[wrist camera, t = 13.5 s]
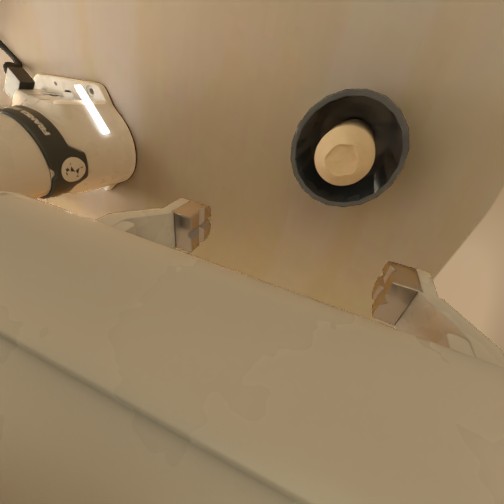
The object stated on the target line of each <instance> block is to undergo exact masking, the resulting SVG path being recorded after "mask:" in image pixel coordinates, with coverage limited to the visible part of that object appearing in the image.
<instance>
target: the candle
mask: <svg viewBox="0 0 504 504" xmlns="http://www.w3.org/2000/svg"><path fill="white" fill-rule="evenodd" d="M374 159H375V137H374V133H373V130H372V128H371V127H370V126H369V125H368V124H367V123H366V122H364V121H362V120H359V119H348V120H345V121H342V122H340V123H339V124H337V125H336V126H335V127H334V128H332V129H331V130H330V131H329V132H328V133H327V134H326V135H324V137H323V138H322V139H321V140H320V142H319V144H318V145H317V148H316V151H315V157H314V161H315V166H316V169H317V172H318V173H319V175H320V176H321V177H322V178H323V179H324V180H325V181H327V182H328V183H330V184H333V185H338V186H345V185H350V184H353V183H356V182H357V181H359V180H361V179H362V178H363V177H364V176H365V175H366V174H367V173H368V172H369V171H370V169H371V167H372V165H373V163H374Z"/></svg>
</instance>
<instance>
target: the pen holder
mask: <svg viewBox="0 0 504 504" xmlns="http://www.w3.org/2000/svg"><path fill="white" fill-rule="evenodd" d="M348 119H359V120H362V121H364V122H366V123H367V124H368V125H369V126H370V127H371V128H372V130H373V133H374V137H375V159H374V163H373V165H372V167H371V169H370V171H369V172H368V173H367V174H366V175H365V176H364V177H363V178H362V179H361V180H359V181H357V182H356V183H353V184H350V185H345V186H338V185H333V184H330V183H328V182H327V181H325V180H324V179H323V178H322V177H321V176H320V175H319V173H318V172H317V169H316V166H315V161H314V157H315V151H316V148H317V145H318V144H319V142H320V140H321V139H322V138H323V137H324V135H326V134H327V133H328V132H329V131H330V130H331V129H332V128H334V127H335V126H336V125H337V124H339V123H340V122H342V121H345V120H348ZM408 152H409V129H408V126H407V123H406V121H405V119H404V116H403V114H402V112H401V110H400V109H399V108H398V107H397V106H396V105H395V104H394V103H393V102H392V101H391V100H390V99H389V98H388V97H387V96H385V95H382V94H380V93H377V92H374V91H372V90H369V89H345V90H342V91H340V92H337V93H334V94H331V95H328V96H326V97H325V98H324V99H322V100H321V101H320V102H318V103H317V104H316V105H314V106H313V107H312V108H311V109H309V111H308V112H307V114H306V115H305V116H304V118H303V119H302V120H301V122H300V123H299V125H298V127H297V129H296V132H295V135H294V137H293V140H292V147H291V163H292V168H293V172H294V176H295V177H296V179H297V181H298V182H299V184H300V186H301V188H302V189H303V190H304V191H305V192H307V193H308V194H309V195H310V196H311V197H312V198H313V199H315V200H317V201H320V202H322V203H324V204H326V205H331V206H338V207H348V206H354V205H360V204H363V203H365V202H367V201H370V200H372V199H374V198H376V197H378V196H379V195H380V194H381V193H383V192H384V191H385V190H386V189H388V188H389V187H390V186H391V185H392V184H393V183H394V181H395V180H396V178H397V177H398V175H399V174H400V172H401V171H402V169H403V168H404V165H405V161H406V158H407V155H408Z"/></svg>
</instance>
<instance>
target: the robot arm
mask: <svg viewBox="0 0 504 504" xmlns="http://www.w3.org/2000/svg"><path fill="white" fill-rule="evenodd" d="M0 48H1V49H2V50H3V51H5V52H6V53H7V54H8V55H9V56H10V57H11V58H12V60H13V61H14V63H12V62H5V63H4V65H3V68H4V71H5V73H6V79H5V85H4V91H5V92H6V93H7V95H8V96H9V97H10V98H11V99H12V100H13V101H12V106H6V107H2V108H1V109H0V504H504V353H503V351H502V350H501V349H500V348H499V347H498V346H497V345H495V344H494V343H493V342H492V341H491V340H490V339H488V338H487V337H486V336H485V335H484V334H482V332H480V331H479V330H478V329H477V328H476V327H475V326H473V325H472V324H471V323H470V322H469V321H468V320H467V319H465V318H464V317H463V316H462V315H461V314H460V313H458V312H457V311H456V310H455V309H454V308H453V307H451V306H450V305H449V304H448V303H447V302H446V301H445V300H443V299H441V298H439V297H438V294H437V291H436V288H435V285H434V282H433V280H432V277H431V274H430V273H429V272H426V271H422V270H418V269H415V268H412V267H408V266H405V265H401V264H398V263H394V262H390V261H388V262H387V263H386V264H385V266H384V268H383V275H382V276H380V277H378V278H377V280H376V282H375V285H374V287H373V291H372V299H373V300H374V303H373V305H372V317H374V318H377V319H379V320H382V321H385V322H387V323H390V324H392V325H395V328H396V329H395V328H392V327H389V326H387V325H384V324H381V323H378V322H375V321H373V320H370V319H367V318H364V317H362V316H359V315H356V314H353V313H350V312H348V311H345V310H342V309H339V308H337V307H334V306H331V305H328V304H325V303H323V302H320V301H317V300H314V299H312V298H309V297H306V296H303V295H300V294H298V293H295V292H292V291H289V290H287V289H284V288H281V287H278V286H275V285H273V284H270V283H267V282H264V281H262V280H259V279H256V278H253V277H250V276H248V275H245V274H242V273H239V272H237V271H234V270H231V269H228V268H225V267H223V266H220V265H217V264H214V263H212V262H209V261H206V260H203V259H201V258H198V257H195V256H192V255H189V254H187V253H184V252H181V251H178V250H176V249H173V248H175V247H177V248H180V249H183V250H186V251H189V252H192V251H193V250H194V249H195V248H196V247H197V246H199V242H201V241H204V240H205V239H206V238H207V237H208V235H209V232H210V227H211V224H210V222H209V220H208V218H209V217H210V216H211V209H210V207H209V206H206V205H203V204H200V203H197V202H193V201H191V200H187V199H184V198H180V199H178V200H176V201H175V202H173V203H171V204H169V205H167V206H166V207H164V208H162V209H160V208H154V209H145V210H136V211H128V212H119V213H110V214H107V215H105V216H103V217H100V218H98V219H96V220H92V219H89V218H87V217H84V216H81V215H78V214H76V213H73V212H70V211H67V210H64V209H62V208H59V207H56V206H53V205H51V204H48V203H45V202H42V201H40V200H37V199H36V198H43V199H45V198H50V197H55V196H59V195H61V194H63V193H67V192H69V193H71V194H76V193H81V192H85V191H90V190H94V189H98V188H102V189H103V190H105V191H107V190H111V189H112V188H113V187H114V186H115V185H116V184H117V183H119V182H123V181H126V180H127V179H129V178H130V177H131V175H132V174H133V172H134V169H135V164H136V152H135V146H134V142H133V139H132V136H131V133H130V131H129V129H128V127H127V125H126V123H125V122H124V120H123V119H122V117H121V116H120V114H119V113H118V112H117V110H116V109H115V108H114V106H113V104H112V102H111V99H110V97H109V95H108V93H107V91H106V89H105V87H104V86H103V85H102V84H100V83H96V82H90V81H84V80H78V79H72V78H66V77H60V76H54V75H48V74H36V75H35V77H34V80H33V79H32V78H31V77H30V76H29V74H28V73H27V72H26V71H25V70H24V69H23V68H22V65H21V62H20V61H19V59H18V58H17V57H16V56H15V55H14V54H13V53H12V52H11V51H10V50H9V49H8V48H7V47H6V46H5V45H4V44H3V43H2V42H1V41H0Z"/></svg>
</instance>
